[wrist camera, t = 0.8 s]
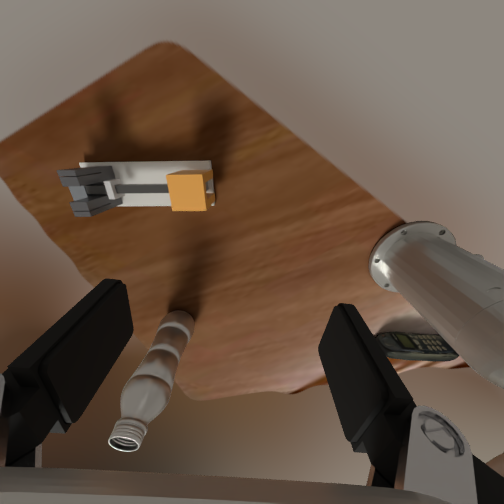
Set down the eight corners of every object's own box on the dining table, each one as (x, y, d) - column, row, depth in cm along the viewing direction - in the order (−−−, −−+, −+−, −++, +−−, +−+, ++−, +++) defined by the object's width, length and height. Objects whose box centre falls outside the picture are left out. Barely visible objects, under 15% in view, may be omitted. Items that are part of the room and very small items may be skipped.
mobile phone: (465, 352, 37) (381, 351, 38) (457, 364, 39) (376, 363, 39) (442, 331, 42) (367, 330, 42) (436, 341, 43) (363, 340, 43)
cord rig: (211, 160, 29) (196, 164, 22) (215, 203, 32) (203, 219, 25) (84, 162, 30) (32, 166, 23) (98, 204, 32) (56, 219, 26)
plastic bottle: (159, 320, 43) (87, 445, 25) (175, 300, 40) (106, 422, 22) (187, 335, 44) (137, 462, 26) (203, 316, 42) (161, 442, 24)
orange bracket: (212, 169, 28) (202, 174, 23) (215, 200, 29) (206, 210, 24) (182, 170, 28) (165, 174, 23) (187, 200, 30) (172, 210, 25)
